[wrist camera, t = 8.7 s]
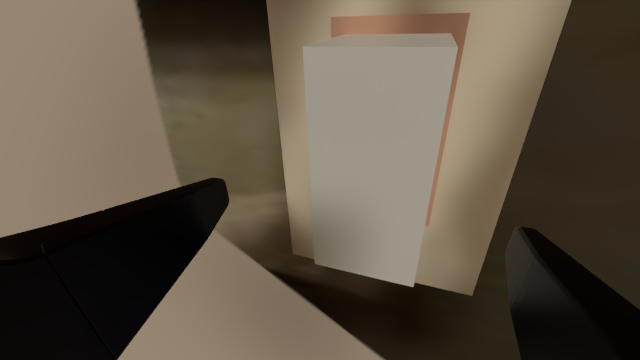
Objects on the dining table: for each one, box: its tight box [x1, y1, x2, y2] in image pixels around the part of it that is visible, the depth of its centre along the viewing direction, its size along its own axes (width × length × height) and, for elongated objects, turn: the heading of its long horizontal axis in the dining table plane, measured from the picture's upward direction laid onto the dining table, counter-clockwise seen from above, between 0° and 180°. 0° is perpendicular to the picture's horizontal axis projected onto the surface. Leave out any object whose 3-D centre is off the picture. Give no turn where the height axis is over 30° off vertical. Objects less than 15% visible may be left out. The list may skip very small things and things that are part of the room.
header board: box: [266, 0, 571, 296], centre depth 15 cm, size 12×18×5 cm, turn 2°
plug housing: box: [303, 33, 458, 287], centre depth 13 cm, size 4×9×5 cm, turn 2°
